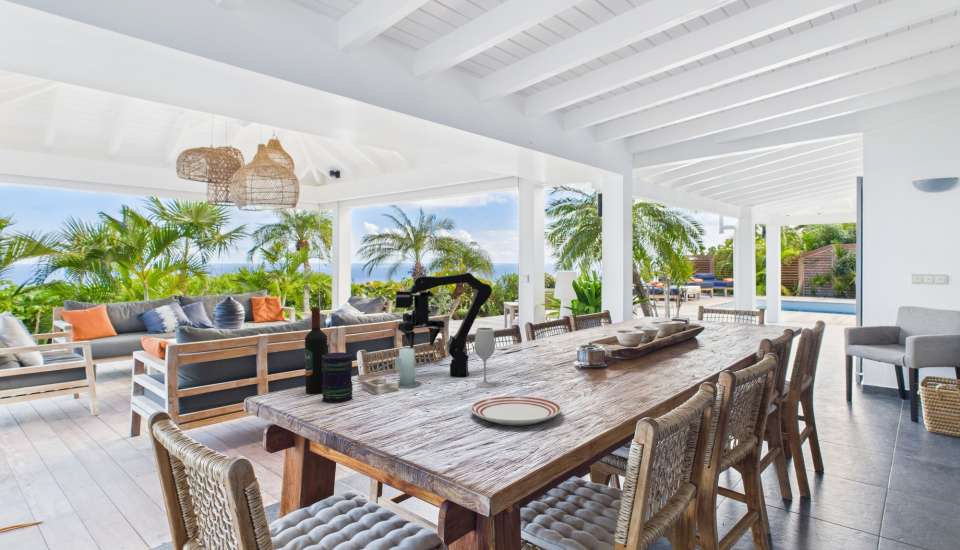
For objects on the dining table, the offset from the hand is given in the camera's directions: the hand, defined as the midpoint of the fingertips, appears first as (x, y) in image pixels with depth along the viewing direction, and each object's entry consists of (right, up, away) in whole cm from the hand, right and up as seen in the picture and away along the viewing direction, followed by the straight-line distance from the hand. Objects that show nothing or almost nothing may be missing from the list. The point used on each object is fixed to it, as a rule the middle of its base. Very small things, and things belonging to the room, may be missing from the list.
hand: (421, 347), depth 204 cm
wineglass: (+25, -13, -13) cm, 31 cm away
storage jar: (-25, -13, -31) cm, 42 cm away
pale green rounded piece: (-5, -12, -13) cm, 18 cm away
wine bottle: (-35, -13, -21) cm, 43 cm away
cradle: (-13, -13, -19) cm, 26 cm away
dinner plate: (+34, -14, -50) cm, 62 cm away
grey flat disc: (-4, -12, -12) cm, 18 cm away
